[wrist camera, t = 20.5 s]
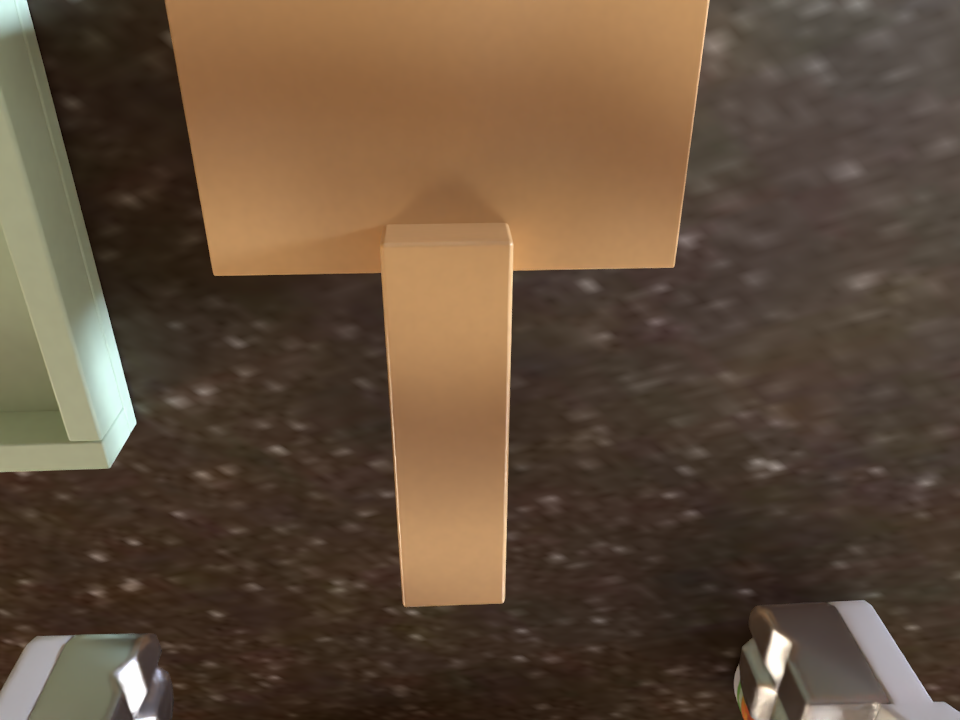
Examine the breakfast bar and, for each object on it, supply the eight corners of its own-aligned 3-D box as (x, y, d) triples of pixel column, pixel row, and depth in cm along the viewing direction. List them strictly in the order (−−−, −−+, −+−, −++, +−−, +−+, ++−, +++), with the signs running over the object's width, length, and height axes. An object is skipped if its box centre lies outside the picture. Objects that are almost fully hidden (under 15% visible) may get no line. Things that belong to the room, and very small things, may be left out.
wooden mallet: (607, 481, 22) (644, 599, 19) (289, 490, 22) (259, 614, 18) (659, -24, 16) (731, -7, 12) (214, -24, 16) (141, -4, 12)
